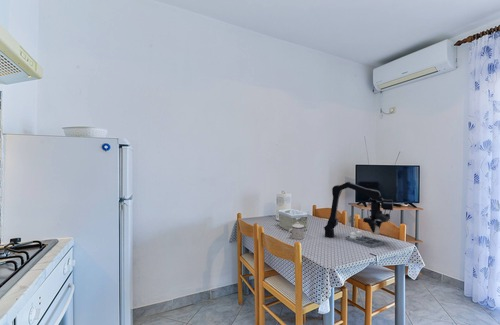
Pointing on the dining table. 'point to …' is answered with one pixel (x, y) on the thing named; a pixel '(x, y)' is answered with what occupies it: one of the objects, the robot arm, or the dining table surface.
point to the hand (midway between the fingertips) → (375, 231)
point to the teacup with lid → (297, 231)
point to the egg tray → (366, 241)
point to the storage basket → (292, 218)
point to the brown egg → (376, 230)
